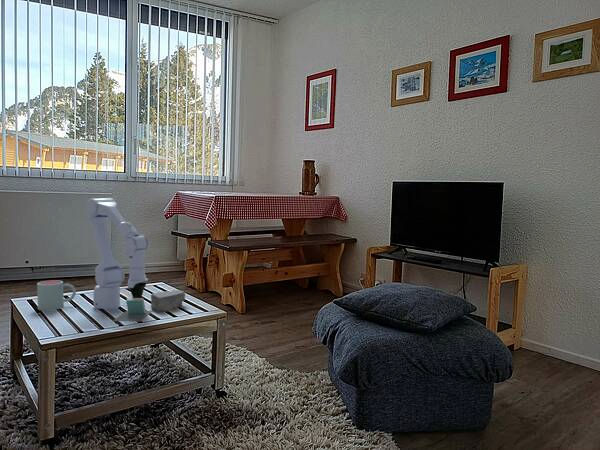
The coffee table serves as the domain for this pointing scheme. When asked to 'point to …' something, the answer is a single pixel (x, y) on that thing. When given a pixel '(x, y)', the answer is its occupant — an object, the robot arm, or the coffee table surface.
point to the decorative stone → (167, 300)
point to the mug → (52, 294)
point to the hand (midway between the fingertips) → (137, 302)
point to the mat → (132, 316)
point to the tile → (136, 305)
